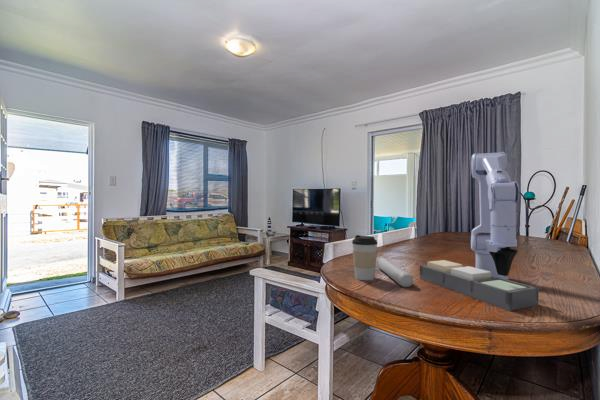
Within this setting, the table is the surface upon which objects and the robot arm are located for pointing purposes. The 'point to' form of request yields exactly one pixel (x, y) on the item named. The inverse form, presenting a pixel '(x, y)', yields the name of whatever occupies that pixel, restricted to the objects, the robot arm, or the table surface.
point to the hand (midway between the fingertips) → (502, 275)
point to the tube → (395, 272)
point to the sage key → (503, 285)
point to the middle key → (471, 273)
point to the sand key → (443, 265)
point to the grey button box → (483, 289)
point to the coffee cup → (364, 257)
